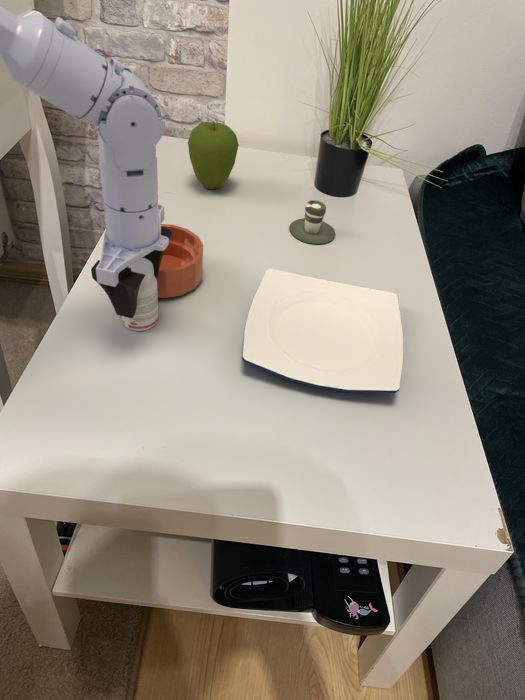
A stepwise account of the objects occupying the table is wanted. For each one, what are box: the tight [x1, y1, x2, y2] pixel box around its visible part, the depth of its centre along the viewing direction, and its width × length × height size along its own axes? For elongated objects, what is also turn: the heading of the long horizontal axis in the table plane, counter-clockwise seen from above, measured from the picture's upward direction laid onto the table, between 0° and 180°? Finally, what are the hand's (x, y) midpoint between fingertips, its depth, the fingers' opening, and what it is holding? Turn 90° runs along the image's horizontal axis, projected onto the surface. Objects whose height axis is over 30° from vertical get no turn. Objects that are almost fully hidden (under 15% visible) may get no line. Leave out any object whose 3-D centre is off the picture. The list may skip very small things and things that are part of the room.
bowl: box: [157, 223, 204, 299], centre depth 73 cm, size 11×11×5 cm
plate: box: [241, 268, 404, 394], centre depth 68 cm, size 20×20×3 cm
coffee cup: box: [288, 199, 336, 245], centre depth 86 cm, size 12×12×5 cm
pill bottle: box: [119, 258, 159, 332], centre depth 65 cm, size 5×5×8 cm
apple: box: [187, 121, 240, 190], centre depth 90 cm, size 9×8×12 cm
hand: (136, 297), depth 65 cm, fingers open, 6 cm apart
